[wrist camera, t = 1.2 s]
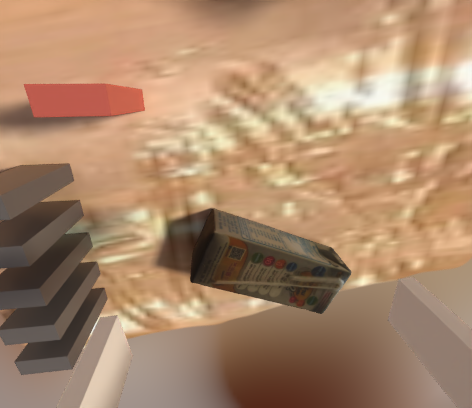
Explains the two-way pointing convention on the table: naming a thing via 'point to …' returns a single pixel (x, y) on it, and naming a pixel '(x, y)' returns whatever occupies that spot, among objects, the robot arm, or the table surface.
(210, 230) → the beverage carton
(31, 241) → the domino
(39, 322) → the domino
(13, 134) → the table surface
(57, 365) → the domino
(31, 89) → the domino red
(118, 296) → the table surface
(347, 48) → the table surface
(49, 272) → the domino
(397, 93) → the table surface
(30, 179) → the domino
